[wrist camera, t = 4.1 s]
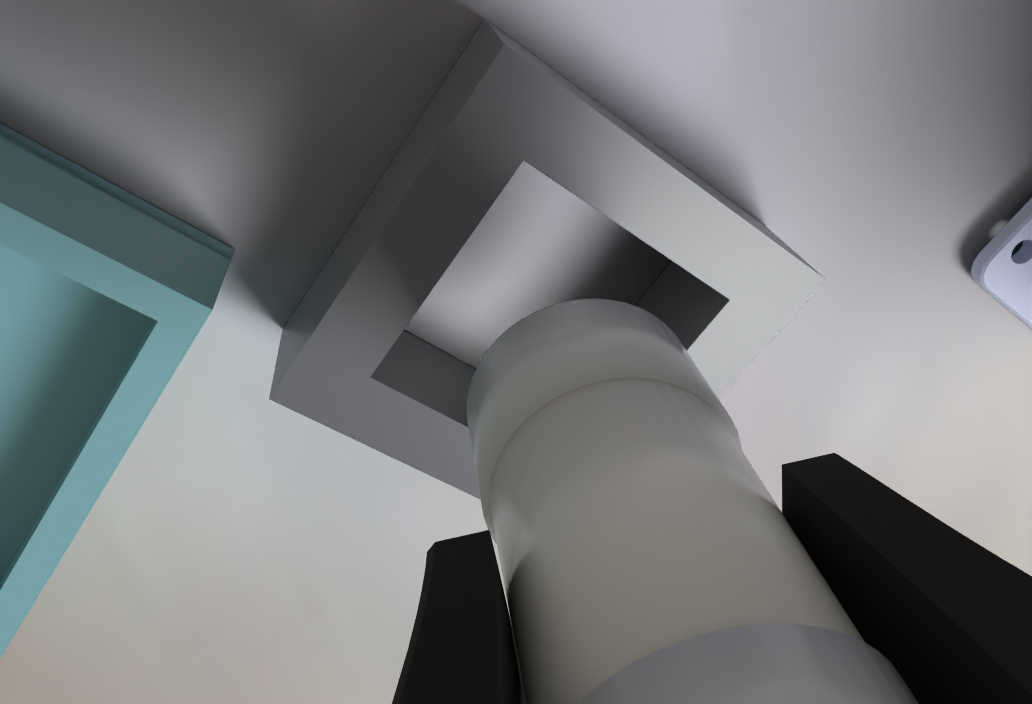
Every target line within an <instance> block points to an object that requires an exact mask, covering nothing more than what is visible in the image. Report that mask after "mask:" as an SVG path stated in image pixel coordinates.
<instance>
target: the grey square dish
mask: <svg viewBox="0 0 1032 704" xmlns="http://www.w3.org/2000/svg"><path fill="white" fill-rule="evenodd" d="M523 160H524V161H525V162H527V163H528V164H530V165H531V166H533V167H534V168H536V169H537V170H539V171H540V172H542V173H543V174H545V175H546V176H548V177H549V178H551V179H552V180H554V181H555V182H556V183H558V184H559V185H561V186H562V187H564V188H565V189H567V190H568V191H570V192H571V193H573V194H574V195H576V196H577V197H579V198H580V199H582V200H583V201H585V202H586V203H588V204H589V205H591V206H592V207H593V208H595V209H596V210H598V211H599V212H601V213H602V214H604V215H605V216H607V217H608V218H610V219H611V220H613V221H614V222H616V223H617V224H619V225H620V226H622V227H623V228H625V229H626V230H627V231H629V232H630V233H632V234H633V235H635V236H636V237H638V238H639V239H641V240H642V241H644V242H645V243H647V244H648V245H650V246H651V247H653V248H654V249H656V250H657V251H659V252H660V253H662V254H663V255H664V256H666V257H667V258H669V259H670V260H672V261H671V262H670V263H669V265H668V266H667V267H666V268H665V269H664V271H663V272H662V273H661V274H660V276H659V277H658V278H657V279H656V281H655V282H654V283H653V284H652V286H651V287H650V288H649V289H648V290H647V292H646V293H645V294H644V295H643V297H642V298H641V299H640V300H639V302H638V303H637V304H636V305H635V306H636V307H639V308H642V309H643V310H645V311H647V312H649V313H651V314H653V315H654V316H656V317H657V318H658V319H660V320H661V321H662V322H664V323H665V324H666V325H667V326H668V327H669V328H670V329H671V330H672V331H673V332H674V333H675V335H676V336H677V338H678V339H679V340H680V342H681V343H682V345H683V346H684V348H685V349H686V351H687V352H688V354H689V355H690V357H691V358H692V360H693V361H694V363H695V364H696V366H697V367H698V369H699V371H700V372H701V374H702V375H703V377H704V378H705V380H706V381H707V383H708V384H709V386H710V387H711V389H712V390H713V392H714V393H715V395H716V396H717V398H718V399H720V398H721V397H722V396H723V394H724V393H725V392H726V391H727V390H728V389H729V388H730V387H731V385H732V384H733V383H734V382H735V381H736V380H737V379H738V378H739V376H740V375H741V374H742V373H743V372H744V371H745V370H746V369H747V367H748V366H749V365H750V364H751V363H752V362H753V361H754V360H755V358H756V357H757V356H758V355H759V354H760V353H761V352H762V351H763V349H764V348H765V347H766V346H767V345H768V344H769V343H770V342H771V340H772V339H773V338H774V337H775V336H776V335H777V334H778V333H779V331H780V330H781V329H782V328H783V327H784V326H785V325H786V324H787V322H788V321H789V320H790V319H791V318H792V317H793V316H794V315H795V313H796V312H797V311H798V310H799V309H800V308H801V307H802V306H803V304H804V303H805V302H806V301H807V300H808V299H809V298H810V297H811V295H812V294H813V293H814V292H815V291H816V290H817V289H818V288H819V286H820V285H821V284H822V283H823V282H824V281H825V280H826V279H825V278H824V277H823V276H821V275H820V274H819V273H818V272H817V271H816V270H815V269H814V268H812V267H811V266H810V265H809V264H808V263H807V262H806V261H804V260H803V259H802V258H801V257H800V256H799V255H798V254H797V253H795V252H794V251H793V250H792V249H791V248H790V247H789V246H788V245H786V244H785V243H784V242H783V241H782V240H781V239H780V238H778V237H777V236H776V235H775V234H774V233H773V232H772V231H771V230H769V229H768V228H767V227H766V226H764V225H763V224H762V223H760V222H759V221H758V220H756V219H755V218H754V217H752V216H751V215H749V214H748V213H747V212H745V211H744V210H743V209H741V208H740V207H739V206H737V205H736V204H735V203H733V202H732V201H731V200H729V199H728V198H726V197H725V196H724V195H722V194H721V193H720V192H718V191H717V190H716V189H714V188H713V187H712V186H710V185H709V184H708V183H706V182H705V181H703V180H702V179H701V178H699V177H698V176H697V175H695V174H694V173H693V172H691V171H690V170H689V169H687V168H686V167H685V166H683V165H682V164H680V163H679V162H678V161H676V160H675V159H674V158H672V157H671V156H670V155H668V154H667V153H666V152H664V151H663V150H662V149H660V148H659V147H657V146H656V145H655V144H653V143H652V142H651V141H649V140H648V139H647V138H645V137H644V136H643V135H641V134H640V133H639V132H637V131H636V130H634V129H633V128H632V127H630V126H629V125H628V124H626V123H625V122H624V121H622V120H621V119H620V118H618V117H617V116H616V115H614V114H613V113H611V112H610V111H609V110H607V109H606V108H605V107H603V106H602V105H601V104H599V103H598V102H597V101H595V100H594V99H593V98H591V97H590V96H588V95H587V94H586V93H584V92H583V91H582V90H580V89H579V88H578V87H576V86H575V85H574V84H572V83H571V82H570V81H568V80H567V79H565V78H564V77H563V76H561V75H560V74H559V73H557V72H556V71H555V70H553V69H552V68H551V67H549V66H548V65H547V64H545V63H544V62H542V61H541V60H540V59H538V58H537V57H536V56H534V55H533V54H532V53H530V52H529V51H528V50H526V49H525V48H524V47H522V46H521V45H519V44H518V43H517V42H515V41H514V40H513V39H511V38H510V37H509V36H507V35H506V34H505V33H503V32H502V31H500V30H499V29H498V28H496V27H495V26H494V25H492V24H491V23H490V22H488V21H487V20H486V19H484V20H483V22H482V23H481V25H480V26H479V28H478V29H477V31H476V32H475V34H474V36H473V37H472V39H471V40H470V42H469V43H468V45H467V46H466V48H465V49H464V51H463V52H462V54H461V56H460V57H459V59H458V60H457V62H456V63H455V65H454V66H453V68H452V69H451V71H450V73H449V74H448V76H447V77H446V79H445V80H444V82H443V83H442V85H441V86H440V88H439V90H438V91H437V93H436V94H435V96H434V97H433V99H432V100H431V102H430V103H429V105H428V106H427V108H426V110H425V111H424V113H423V114H422V116H421V117H420V119H419V120H418V122H417V123H416V125H415V127H414V128H413V130H412V131H411V133H410V134H409V136H408V137H407V139H406V140H405V142H404V144H403V145H402V147H401V148H400V150H399V151H398V153H397V154H396V156H395V157H394V159H393V160H392V162H391V164H390V165H389V167H388V168H387V170H386V171H385V173H384V174H383V176H382V177H381V179H380V181H379V182H378V184H377V185H376V187H375V188H374V190H373V191H372V193H371V194H370V196H369V198H368V199H367V201H366V202H365V204H364V205H363V207H362V208H361V210H360V211H359V213H358V214H357V216H356V218H355V219H354V221H353V222H352V224H351V225H350V227H349V228H348V230H347V231H346V233H345V235H344V236H343V238H342V239H341V241H340V242H339V244H338V245H337V247H336V248H335V250H334V252H333V253H332V255H331V256H330V258H329V259H328V261H327V262H326V264H325V265H324V267H323V268H322V270H321V272H320V273H319V275H318V276H317V278H316V279H315V281H314V282H313V284H312V285H311V287H310V289H309V290H308V292H307V293H306V295H305V296H304V298H303V299H302V301H301V302H300V304H299V306H298V307H297V309H296V310H295V312H294V313H293V315H292V316H291V318H290V319H289V321H288V322H287V324H286V326H285V327H284V329H283V330H282V335H281V340H280V346H279V351H278V356H277V361H276V366H275V371H274V377H273V382H272V387H271V392H270V397H269V399H270V400H272V401H274V402H276V403H279V404H281V405H283V406H285V407H287V408H289V409H291V410H293V411H295V412H298V413H300V414H302V415H304V416H306V417H308V418H310V419H312V420H314V421H316V422H319V423H321V424H323V425H325V426H327V427H329V428H331V429H333V430H335V431H338V432H340V433H342V434H344V435H346V436H348V437H350V438H352V439H354V440H356V441H359V442H361V443H363V444H365V445H367V446H369V447H371V448H373V449H375V450H378V451H380V452H382V453H384V454H386V455H388V456H390V457H392V458H394V459H397V460H399V461H401V462H403V463H405V464H407V465H409V466H411V467H413V468H415V469H418V470H420V471H422V472H424V473H426V474H428V475H430V476H432V477H434V478H437V479H439V480H441V481H443V482H445V483H447V484H449V485H451V486H453V487H455V488H458V489H460V490H462V491H464V492H466V493H468V494H470V495H472V496H474V497H477V498H479V499H481V498H480V492H479V486H478V480H477V475H476V469H475V463H474V457H473V451H472V445H471V440H470V434H469V428H468V421H467V397H468V391H469V387H470V383H471V380H472V377H473V375H474V372H475V370H476V369H474V368H472V367H471V366H469V365H467V364H465V363H463V362H461V361H459V360H458V359H456V358H454V357H452V356H450V355H448V354H447V353H445V352H443V351H441V350H439V349H437V348H436V347H434V346H432V345H430V344H428V343H426V342H425V341H423V340H421V339H419V338H417V337H415V336H414V335H412V334H410V333H408V332H406V331H404V329H405V327H406V326H407V324H408V323H409V322H410V320H411V319H412V317H413V316H414V314H415V313H416V312H417V310H418V309H419V307H420V306H421V305H422V303H423V302H424V300H425V299H426V297H427V296H428V295H429V293H430V292H431V290H432V289H433V288H434V286H435V285H436V283H437V282H438V280H439V279H440V278H441V276H442V275H443V273H444V272H445V271H446V269H447V268H448V266H449V265H450V264H451V262H452V261H453V259H454V258H455V256H456V255H457V254H458V252H459V251H460V249H461V248H462V247H463V245H464V244H465V242H466V241H467V239H468V238H469V237H470V235H471V234H472V232H473V231H474V230H475V228H476V227H477V225H478V224H479V222H480V221H481V220H482V218H483V217H484V215H485V214H486V213H487V211H488V210H489V208H490V207H491V205H492V204H493V203H494V201H495V200H496V198H497V197H498V196H499V194H500V193H501V191H502V190H503V188H504V187H505V186H506V184H507V183H508V181H509V180H510V179H511V177H512V176H513V174H514V173H515V171H516V170H517V169H518V167H519V166H520V164H521V163H522V162H523Z"/></svg>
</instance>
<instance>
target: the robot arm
mask: <svg viewBox="0 0 1032 704" xmlns="http://www.w3.org/2000/svg"><path fill="white" fill-rule="evenodd" d="M1021 241H1023V245H1022V247H1021V248H1020V250H1019V251H1018V252H1017V253H1015V254H1014V255H1012V251H1013V249H1014V247H1015V246H1016V245H1017V244H1018V243H1020V242H1021ZM1011 255H1012V256H1011ZM971 273H972V278H973V280H974V281H975V283H976V284H977V285H979V286H980V287H981V288H982V289H984V290H985V291H986V292H987V293H989V294H990V295H991V296H992V297H993V298H995V299H996V300H997V301H998V302H1000V303H1001V304H1002V305H1003V306H1005V307H1006V308H1007V309H1008V310H1009V311H1011V312H1012V313H1013V314H1014V315H1016V316H1017V317H1018V318H1019V319H1021V320H1022V321H1023V322H1024V323H1025V324H1027V325H1028V326H1029V327H1030V328H1032V198H1031V199H1030V200H1029V201H1028V202H1027V203H1026V204H1025V205H1024V206H1023V207H1022V209H1021V210H1020V211H1019V212H1018V213H1017V214H1016V215H1015V216H1014V217H1013V218H1012V219H1011V220H1010V221H1009V222H1008V223H1007V224H1006V225H1005V226H1004V228H1003V229H1002V230H1001V231H1000V232H999V233H998V234H997V235H996V236H995V237H994V238H993V239H992V240H991V241H990V242H989V243H988V244H987V245H986V246H985V248H984V249H983V250H982V251H981V252H980V253H979V254H978V256H977V257H976V259H975V260H974V262H973V265H972V269H971ZM782 514H783V515H784V517H785V518H786V520H787V521H788V523H789V525H790V526H791V528H792V529H793V531H794V532H795V534H796V535H797V537H798V539H799V540H800V542H801V543H802V545H803V546H804V548H805V549H806V551H807V553H808V554H809V556H810V557H811V559H812V560H813V562H814V564H815V565H816V567H817V568H818V570H819V571H820V573H821V574H822V576H823V578H824V579H825V581H826V582H827V584H828V585H829V587H830V588H831V590H832V592H833V593H834V595H835V596H836V598H837V599H838V601H839V603H840V604H841V606H842V607H843V609H844V610H845V612H846V613H847V615H848V617H849V618H850V620H851V621H852V623H853V624H854V626H855V627H856V629H857V631H858V632H859V634H860V635H861V637H862V638H863V640H864V641H865V643H866V644H868V645H870V646H871V647H873V648H874V649H876V650H878V651H879V652H880V653H881V654H882V655H883V656H884V657H885V658H887V659H888V660H889V661H890V662H891V663H892V665H893V666H894V667H895V669H896V670H897V671H898V673H899V674H900V675H901V677H902V678H903V680H904V681H905V683H906V685H907V686H908V688H909V689H910V691H911V692H912V694H913V695H914V697H915V698H916V700H917V701H918V703H919V704H1032V576H1030V575H1029V574H1027V573H1025V572H1023V571H1022V570H1020V569H1018V568H1017V567H1015V566H1013V565H1012V564H1010V563H1008V562H1007V561H1005V560H1003V559H1002V558H1000V557H998V556H997V555H995V554H993V553H992V552H990V551H988V550H987V549H985V548H984V547H982V546H980V545H979V544H977V543H975V542H974V541H972V540H970V539H969V538H967V537H966V536H964V535H962V534H961V533H959V532H958V531H956V530H954V529H953V528H951V527H950V526H948V525H946V524H945V523H943V522H942V521H940V520H939V519H937V518H935V517H934V516H932V515H931V514H929V513H928V512H926V511H925V510H923V509H921V508H920V507H918V506H917V505H915V504H914V503H912V502H910V501H909V500H907V499H906V498H904V497H903V496H901V495H900V494H898V493H897V492H895V491H893V490H892V489H890V488H889V487H887V486H886V485H884V484H883V483H881V482H880V481H878V480H877V479H875V478H874V477H872V476H870V475H869V474H867V473H866V472H864V471H863V470H861V469H860V468H858V467H856V466H855V465H853V464H852V463H850V462H849V461H847V460H845V459H844V458H842V457H841V456H839V455H837V454H836V453H832V454H827V455H823V456H818V457H814V458H809V459H805V460H801V461H796V462H792V463H787V464H783V465H782ZM392 704H526V699H525V694H524V688H523V683H522V677H521V672H520V667H519V661H518V656H517V650H516V645H515V640H514V634H513V629H512V625H511V621H510V616H509V612H508V608H507V603H506V599H505V595H504V590H503V586H502V582H501V577H500V573H499V569H498V564H497V560H496V556H495V551H494V547H493V543H492V539H491V534H490V530H487V531H483V532H478V533H474V534H469V535H465V536H460V537H456V538H451V539H447V540H442V541H438V542H435V543H434V544H433V545H432V547H431V548H430V549H429V551H428V552H427V558H426V568H425V574H424V580H423V586H422V592H421V597H420V602H419V606H418V611H417V615H416V619H415V623H414V627H413V632H412V636H411V640H410V644H409V648H408V651H407V655H406V658H405V661H404V665H403V668H402V672H401V675H400V678H399V682H398V685H397V688H396V692H395V695H394V699H393V702H392Z"/></svg>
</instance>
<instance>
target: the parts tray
mask: <svg viewBox="0 0 1032 704" xmlns="http://www.w3.org/2000/svg"><path fill="white" fill-rule="evenodd" d="M233 252H234V249H232V248H231V247H229V246H227V245H225V244H223V243H221V242H219V241H218V240H216V239H214V238H212V237H210V236H208V235H206V234H205V233H203V232H201V231H199V230H197V229H195V228H193V227H192V226H190V225H188V224H186V223H184V222H182V221H180V220H179V219H177V218H175V217H173V216H171V215H169V214H167V213H166V212H164V211H162V210H160V209H158V208H156V207H154V206H153V205H151V204H149V203H147V202H145V201H143V200H141V199H140V198H138V197H136V196H134V195H132V194H130V193H128V192H127V191H125V190H123V189H121V188H119V187H117V186H115V185H114V184H112V183H110V182H108V181H106V180H104V179H102V178H101V177H99V176H97V175H95V174H93V173H91V172H89V171H88V170H86V169H84V168H82V167H80V166H78V165H76V164H75V163H73V162H71V161H69V160H67V159H65V158H63V157H62V156H60V155H58V154H56V153H54V152H52V151H51V150H49V149H47V148H45V147H43V146H41V145H39V144H38V143H36V142H34V141H32V140H30V139H28V138H26V137H25V136H23V135H21V134H19V133H17V132H15V131H13V130H12V129H10V128H8V127H6V126H4V125H2V124H0V658H1V656H2V655H3V653H4V652H5V650H6V648H7V647H8V645H9V643H10V642H11V640H12V638H13V637H14V635H15V633H16V632H17V630H18V629H19V627H20V625H21V624H22V622H23V620H24V619H25V617H26V615H27V614H28V612H29V610H30V609H31V607H32V606H33V604H34V602H35V601H36V599H37V597H38V596H39V594H40V592H41V591H42V589H43V587H44V586H45V584H46V583H47V581H48V579H49V578H50V576H51V574H52V573H53V571H54V569H55V568H56V566H57V564H58V563H59V561H60V560H61V558H62V556H63V555H64V553H65V551H66V550H67V548H68V546H69V545H70V543H71V541H72V540H73V538H74V537H75V535H76V533H77V532H78V530H79V528H80V527H81V525H82V523H83V522H84V520H85V518H86V517H87V515H88V514H89V512H90V510H91V509H92V507H93V505H94V504H95V502H96V500H97V499H98V497H99V495H100V494H101V492H102V490H103V489H104V487H105V486H106V484H107V482H108V481H109V479H110V477H111V476H112V474H113V472H114V471H115V469H116V467H117V466H118V464H119V463H120V461H121V459H122V458H123V456H124V454H125V453H126V451H127V449H128V448H129V446H130V444H131V443H132V441H133V440H134V438H135V436H136V435H137V433H138V431H139V430H140V428H141V426H142V425H143V423H144V421H145V420H146V418H147V417H148V415H149V413H150V412H151V410H152V408H153V407H154V405H155V403H156V402H157V400H158V398H159V397H160V395H161V394H162V392H163V390H164V389H165V387H166V385H167V384H168V382H169V380H170V379H171V377H172V375H173V374H174V372H175V371H176V369H177V367H178V366H179V364H180V362H181V361H182V359H183V357H184V356H185V354H186V352H187V351H188V349H189V348H190V346H191V344H192V343H193V341H194V339H195V338H196V336H197V334H198V333H199V331H200V329H201V328H202V326H203V325H204V323H205V321H206V320H207V318H208V316H209V315H210V313H211V311H212V310H213V307H214V304H215V301H216V299H217V296H218V293H219V290H220V288H221V285H222V282H223V279H224V277H225V274H226V271H227V268H228V266H229V263H230V260H231V257H232V255H233Z"/></svg>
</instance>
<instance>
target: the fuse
mask: <svg viewBox="0 0 1032 704" xmlns="http://www.w3.org/2000/svg"><path fill="white" fill-rule="evenodd" d="M467 421H468V428H469V434H470V440H471V445H472V451H473V457H474V463H475V469H476V475H477V480H478V486H479V492H480V498H481V504H482V509H483V515H484V518H485V521H486V524H487V527H488V530H490V533H491V535H492V537H493V539H494V541H495V542H496V543H497V547H498V553H499V558H500V564H501V569H502V575H503V580H504V585H505V591H506V596H507V602H508V607H509V612H510V618H511V623H512V629H513V634H514V640H515V645H516V650H517V656H518V661H519V667H520V672H521V677H522V683H523V688H524V694H525V699H526V704H919V703H918V701H917V700H916V698H915V697H914V695H913V694H912V692H911V691H910V689H909V688H908V686H907V685H906V683H905V681H904V680H903V678H902V677H901V675H900V674H899V673H898V671H897V670H896V669H895V667H894V666H893V665H892V663H891V662H890V661H889V660H888V659H887V658H885V657H884V656H883V655H882V654H881V653H880V652H879V651H878V650H876V649H874V648H873V647H871V646H870V645H868V644H866V643H865V641H864V640H863V638H862V637H861V635H860V634H859V632H858V631H857V629H856V627H855V626H854V624H853V623H852V621H851V620H850V618H849V617H848V615H847V613H846V612H845V610H844V609H843V607H842V606H841V604H840V603H839V601H838V599H837V598H836V596H835V595H834V593H833V592H832V590H831V588H830V587H829V585H828V584H827V582H826V581H825V579H824V578H823V576H822V574H821V573H820V571H819V570H818V568H817V567H816V565H815V564H814V562H813V560H812V559H811V557H810V556H809V554H808V553H807V551H806V549H805V548H804V546H803V545H802V543H801V542H800V540H799V539H798V537H797V535H796V534H795V532H794V531H793V529H792V528H791V526H790V525H789V523H788V521H787V520H786V518H785V517H784V515H783V514H782V512H781V511H780V509H779V507H778V506H777V504H776V503H775V501H774V500H773V498H772V496H771V495H770V493H769V492H768V490H767V489H766V487H765V486H764V484H763V482H762V481H761V479H760V478H759V476H758V475H757V473H756V472H755V470H754V468H753V467H752V465H751V464H750V462H749V461H748V459H747V458H746V456H745V454H744V453H743V451H742V449H741V443H740V439H739V436H738V432H737V430H736V428H735V426H734V423H733V421H732V419H731V418H730V416H729V415H728V413H727V411H726V410H725V408H724V407H723V405H722V404H721V402H720V401H719V399H718V398H717V396H716V395H715V393H714V392H713V390H712V389H711V387H710V386H709V384H708V383H707V381H706V380H705V378H704V377H703V375H702V374H701V372H700V371H699V369H698V367H697V366H696V364H695V363H694V361H693V360H692V358H691V357H690V355H689V354H688V352H687V351H686V349H685V348H684V346H683V345H682V343H681V342H680V340H679V339H678V338H677V336H676V335H675V333H674V332H673V331H672V330H671V329H670V328H669V327H668V326H667V325H666V324H665V323H664V322H662V321H661V320H660V319H658V318H657V317H656V316H654V315H653V314H651V313H649V312H647V311H645V310H643V309H642V308H639V307H636V306H634V305H631V304H628V303H624V302H620V301H615V300H608V299H579V300H572V301H566V302H562V303H559V304H555V305H551V306H549V307H546V308H544V309H541V310H539V311H536V312H534V313H532V314H531V315H529V316H527V317H525V318H523V319H521V320H520V321H519V322H517V323H516V324H514V325H513V326H512V327H510V328H509V329H508V330H506V331H505V332H504V333H503V334H502V335H501V336H500V337H499V338H498V339H497V340H496V341H495V342H494V343H493V344H492V346H491V347H490V348H489V349H488V350H487V352H486V353H485V355H484V356H483V358H482V359H481V361H480V362H479V364H478V366H477V368H476V370H475V372H474V375H473V377H472V380H471V383H470V387H469V391H468V397H467Z"/></svg>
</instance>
